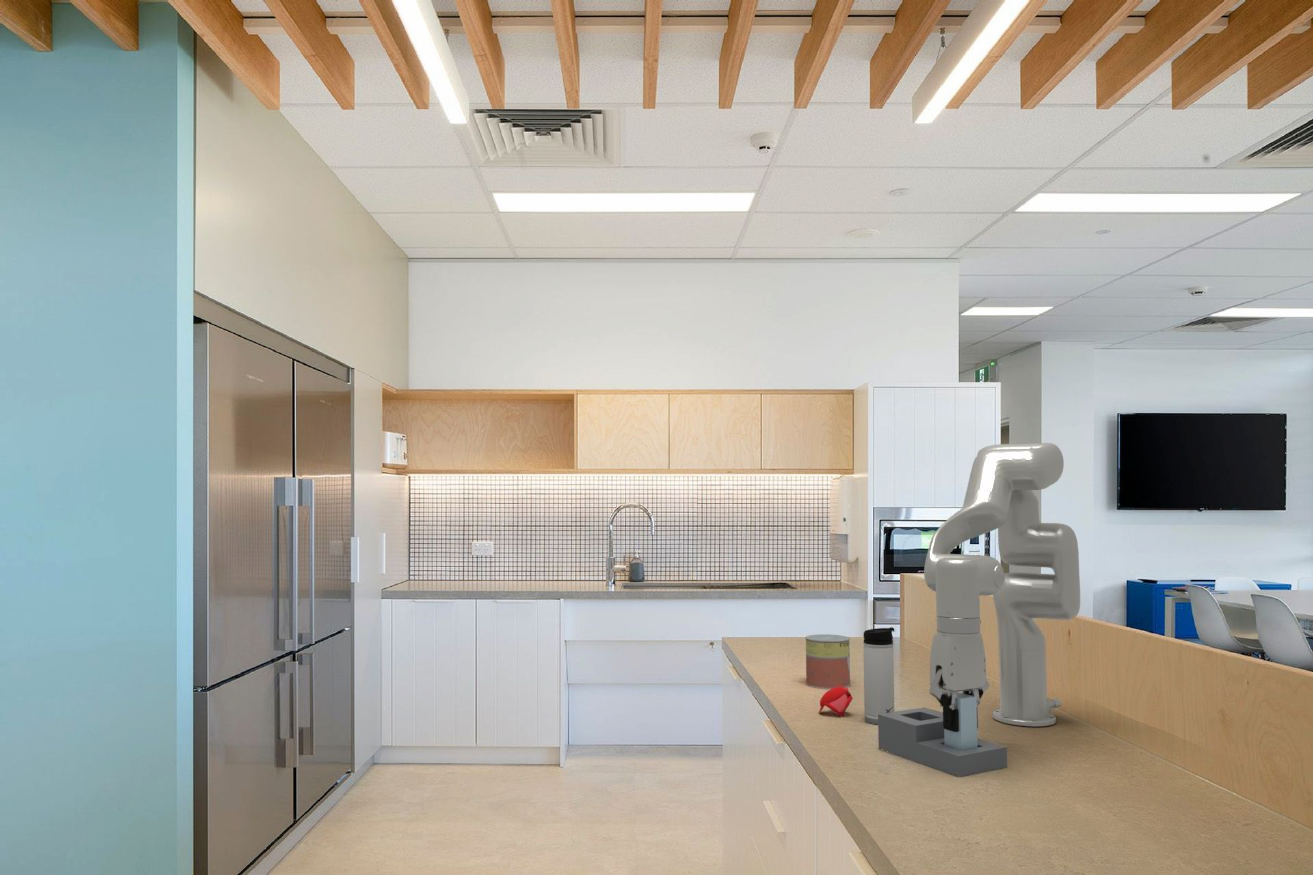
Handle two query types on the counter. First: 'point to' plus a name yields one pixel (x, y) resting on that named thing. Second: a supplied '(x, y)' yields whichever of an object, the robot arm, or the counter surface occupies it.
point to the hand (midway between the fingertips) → (960, 727)
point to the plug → (964, 724)
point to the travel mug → (878, 673)
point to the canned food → (827, 661)
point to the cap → (836, 700)
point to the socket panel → (935, 743)
